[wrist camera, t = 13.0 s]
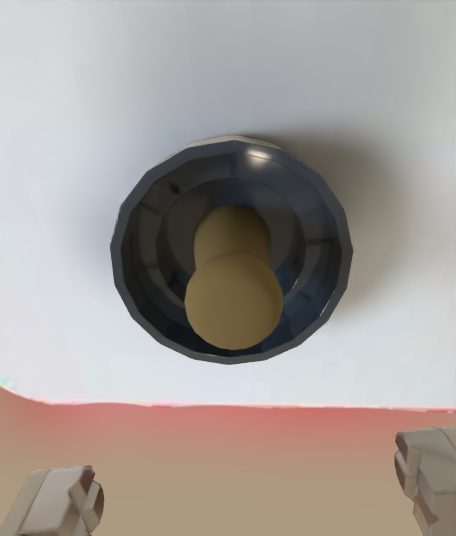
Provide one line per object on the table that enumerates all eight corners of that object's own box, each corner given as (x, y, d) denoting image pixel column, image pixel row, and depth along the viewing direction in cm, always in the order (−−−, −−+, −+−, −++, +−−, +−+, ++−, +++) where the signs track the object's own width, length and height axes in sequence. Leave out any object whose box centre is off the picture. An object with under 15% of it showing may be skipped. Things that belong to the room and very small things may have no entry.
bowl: (106, 155, 25) (76, 165, 20) (326, 118, 24) (351, 120, 19) (156, 333, 31) (143, 376, 26) (333, 310, 30) (354, 349, 25)
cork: (205, 285, 29) (194, 379, 19) (182, 216, 26) (154, 280, 16) (278, 267, 28) (307, 354, 18) (260, 194, 26) (282, 247, 16)
